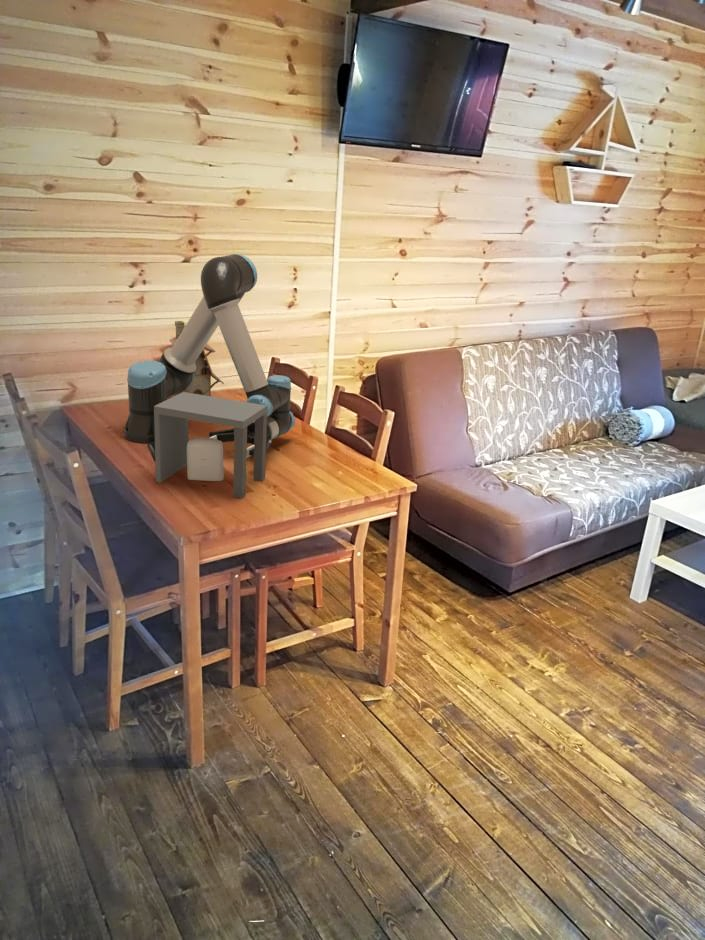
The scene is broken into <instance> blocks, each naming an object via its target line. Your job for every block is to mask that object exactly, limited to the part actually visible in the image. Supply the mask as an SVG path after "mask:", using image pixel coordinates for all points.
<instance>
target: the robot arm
mask: <svg viewBox="0 0 705 940" xmlns="http://www.w3.org/2000/svg"><path fill="white" fill-rule="evenodd" d="M257 281H258V271H257V267H256V266H255V264H254V262H253V261H252V260H251V259H250V258H249V257H248V256H246V255H243V254H236V253H232V254H229V255H228V254H227V255H224V256H216V257H213V258H211V259H209V260H208V261H207V262H206V263H205V264H204V266H203V267H202V270H201V273H200V287H201V290H202V298H201V300H200V302H199V303H198V305H197V307H196V308H195V309H194V311H193V312H192V315H191V316H190V317H189V319H188V321H187V322H186V324H185V325H186V326H185V325H184V326H185V327H184V329H183V331H182V332H181V334H180V336H179V337H178V339H177V340H176V342H175V344H174V345H173V344H172V347H168V348H166V349H164V351H163V352H162V354H161V356H160V357H159V359H158V361H156V360H144V361H138V362H136V363H133V364H132V365H130V366H129V368H128V370H127V379H126V381H127V388H128V389H127V390H128V393H127V394H128V416H127V419H126V422H125V426H124V429H123V432H124V437H125V439H127V440H128V441H131V442H134V443H140V444H148V443H154V442H155V429H154V406H155V405H157V404H160V403H162V402H164V401H166V400H167V399H169V398H171V397H173V395H175V394H176V393H180V392H182V391H184V390H185V389H187V388H188V387H189V386H190V385H191V383H192V381H193V379H194V372H195V370H196V364H195V361H196V360H197V358H198V357H199V355H200V353H201V352H202V350H203V349H204V347H205V346H206V344H208V343H209V341H210V339H211V338H212V336H213V335H214V333H215V332H216V330H217V329H218V327H219V329H220V332H221V334H222V337H223V340H224V342H225V345H226V347H227V350H228V352H229V354H230V357H231V359H232V362H233V365H234V368H235V370H236V373H237V375H238V377H239V380H240V383H241V385H242V387H243V390H244V393H245V395H246V398H247V400H246V401H245V402H248V403H254V404H261V405H267V433H266V455H267V453H268V450H269V447H270V446H271V445H272V440H273V439H276V438H278V437H281V436H283V435H285V434H286V433H288V432H289V431H291V430H292V429H293V428H294V427H295V424H296V418H295V416H294V413H293V412H292V411H291V396H292V395H291V394H292V393H291V392H292V391H291V390H292V385H291V384H292V381H291V379H290V377H288V376H286V375H281V374H280V375H279V374H278V375H277V374H275V375H270V376H268V377H266V374H265V372H264V370H263V367H262V364H261V361H260V359H259V355H258V353H257V351H256V350H257V349H255V345H254V344H253V340H252V338H251V334H250V333H249V330H248V327H247V325H246V322H245V319H244V316H243V314H242V311H241V309H240V306H239V303H240V302H241V300H242V298H244V296H245V294H246V293H248V292H250V291H251V290H253V289H254V287H255V286H256V284H257ZM204 350H205V349H204ZM208 438H213V439H217V440H220V441H222V443H231V442H233V443H234V427H231V428H228V429H222V430H216V431H215V430H214V431H209V432H208ZM247 444H249V445H250V444H251V445H250V446H247V459H248V458H250V457H252V456H253V457H254V444H255V421H254V422H253V423H251V424H250V425H248V426H247Z"/></svg>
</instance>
